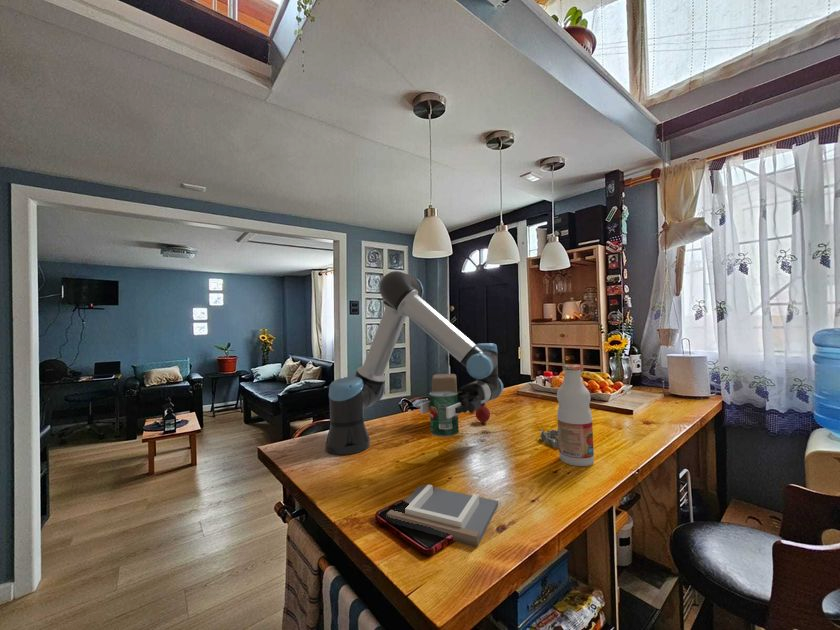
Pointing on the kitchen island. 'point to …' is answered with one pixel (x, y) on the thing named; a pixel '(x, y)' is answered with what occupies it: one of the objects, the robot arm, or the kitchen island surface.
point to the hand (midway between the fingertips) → (434, 411)
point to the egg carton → (549, 440)
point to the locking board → (449, 513)
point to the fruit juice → (574, 419)
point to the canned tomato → (443, 413)
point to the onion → (482, 414)
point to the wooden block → (444, 382)
